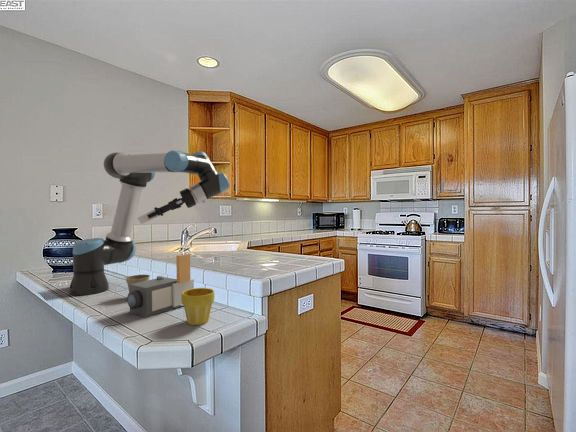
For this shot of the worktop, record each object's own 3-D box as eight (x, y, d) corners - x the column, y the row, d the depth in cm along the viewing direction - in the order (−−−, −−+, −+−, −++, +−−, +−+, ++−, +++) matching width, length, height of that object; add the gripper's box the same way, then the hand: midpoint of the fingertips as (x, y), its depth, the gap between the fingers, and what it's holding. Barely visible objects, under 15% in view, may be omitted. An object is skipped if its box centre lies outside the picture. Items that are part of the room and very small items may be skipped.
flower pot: (122, 297, 127) (122, 276, 127) (146, 292, 133) (146, 273, 133) (128, 302, 120) (128, 280, 120) (153, 297, 126) (153, 276, 126)
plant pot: (221, 319, 100) (221, 290, 100) (197, 330, 91) (197, 297, 91) (199, 314, 105) (199, 286, 105) (174, 323, 97) (174, 293, 96)
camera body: (164, 302, 120) (163, 274, 119) (181, 306, 114) (180, 277, 114) (123, 314, 106) (122, 282, 105) (140, 319, 100) (140, 286, 100)
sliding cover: (191, 300, 118) (191, 253, 118) (194, 300, 117) (194, 253, 117) (172, 306, 111) (171, 256, 110) (175, 307, 110) (174, 256, 109)
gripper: (199, 204, 111) (142, 231, 105) (195, 204, 135) (149, 226, 129) (189, 185, 110) (131, 212, 104) (187, 189, 133) (140, 210, 127)
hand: (141, 220), depth 116 cm, fingers open, 13 cm apart
